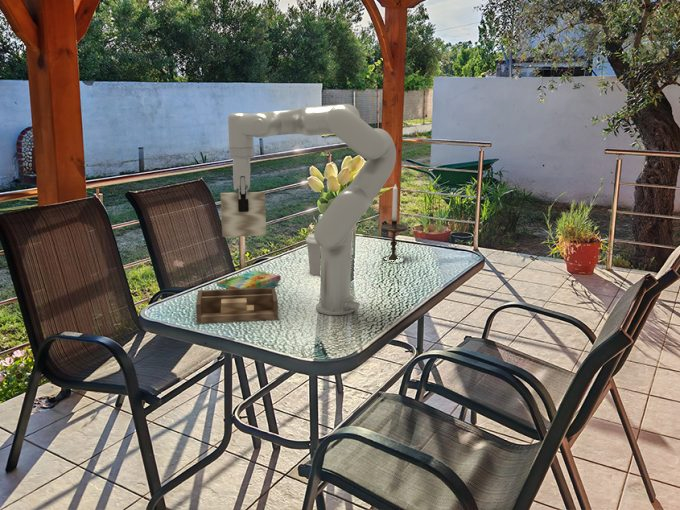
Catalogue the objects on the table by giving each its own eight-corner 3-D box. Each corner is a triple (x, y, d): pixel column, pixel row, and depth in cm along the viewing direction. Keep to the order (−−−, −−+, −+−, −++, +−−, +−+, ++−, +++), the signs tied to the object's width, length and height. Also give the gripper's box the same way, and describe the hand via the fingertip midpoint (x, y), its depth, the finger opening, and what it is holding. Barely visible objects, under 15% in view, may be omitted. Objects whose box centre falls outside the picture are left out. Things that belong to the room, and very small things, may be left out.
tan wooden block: (253, 312, 203) (253, 297, 202) (254, 317, 198) (254, 302, 197) (221, 314, 201) (220, 298, 200) (221, 319, 197) (220, 303, 195)
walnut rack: (275, 307, 210) (274, 287, 209) (278, 322, 197) (277, 300, 195) (199, 311, 206) (198, 290, 205) (197, 326, 193) (196, 304, 191)
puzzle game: (280, 273, 234) (240, 286, 218) (280, 285, 235) (240, 299, 219) (257, 268, 240) (216, 280, 225) (257, 280, 242) (217, 293, 226)
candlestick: (407, 264, 264) (410, 178, 255) (380, 264, 264) (382, 178, 255) (405, 257, 275) (407, 174, 266) (379, 257, 275) (381, 174, 266)
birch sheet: (266, 234, 212) (264, 191, 208) (266, 235, 210) (265, 192, 207) (222, 236, 210) (220, 192, 206) (222, 237, 208) (220, 193, 205)
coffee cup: (328, 277, 244) (328, 238, 241) (303, 276, 246) (303, 237, 242) (332, 270, 254) (333, 233, 250) (308, 269, 255) (308, 232, 251)
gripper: (229, 151, 210) (231, 207, 215) (229, 155, 195) (231, 215, 200) (252, 150, 212) (254, 206, 216) (254, 155, 197) (256, 215, 201)
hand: (243, 210), depth 208 cm, fingers closed on birch sheet, 1 cm apart
